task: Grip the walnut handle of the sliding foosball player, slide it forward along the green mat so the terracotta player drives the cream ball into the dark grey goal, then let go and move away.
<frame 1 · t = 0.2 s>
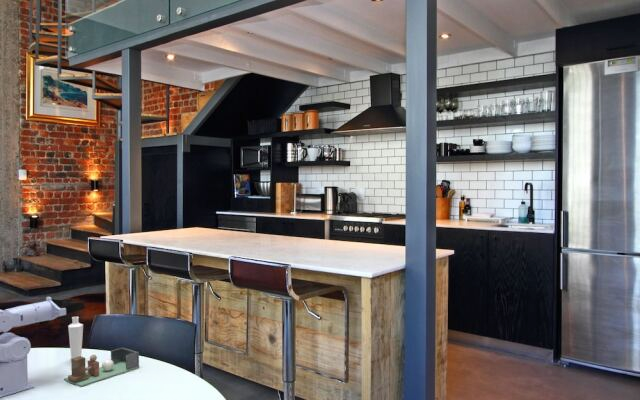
hand: (77, 304, 163), 21 cm above the table, tool horizontal, fingers open, 7 cm apart
pitch mat: (102, 374, 159), on the table
ball: (107, 365, 161), point 2 cm above the table, touching pitch mat
goal: (123, 367, 165), resting on pitch mat
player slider: (84, 366, 154), point 4 cm above the table, slide at 0.0 cm
perfume bottle: (76, 362, 171), on the table
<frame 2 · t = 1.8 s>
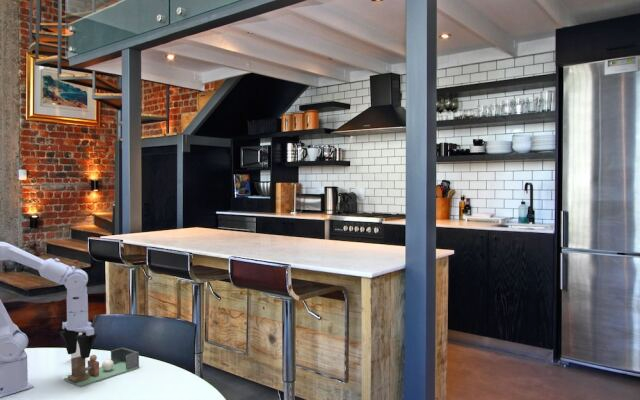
hand: (78, 355, 153), 8 cm above the table, tool pointing down, fingers open, 7 cm apart
nothing on the table moved.
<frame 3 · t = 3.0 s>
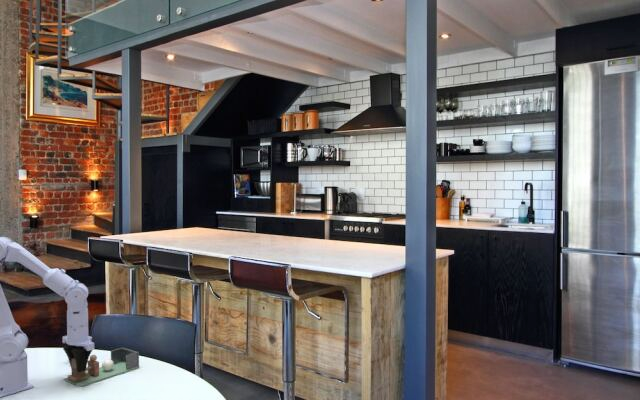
hand: (78, 370, 153), 3 cm above the table, tool pointing down, fingers closed on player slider, 3 cm apart
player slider: (84, 366, 154), point 4 cm above the table, slide at 0.0 cm, touching gripper
everything else where it was.
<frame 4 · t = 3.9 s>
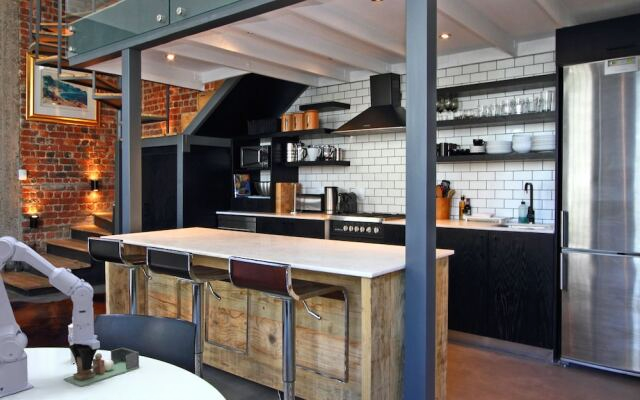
hand: (84, 368, 154), 3 cm above the table, tool pointing down, fingers closed on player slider, 3 cm apart
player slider: (89, 365, 156), point 4 cm above the table, slide at 1.7 cm, touching gripper
everything else where it was.
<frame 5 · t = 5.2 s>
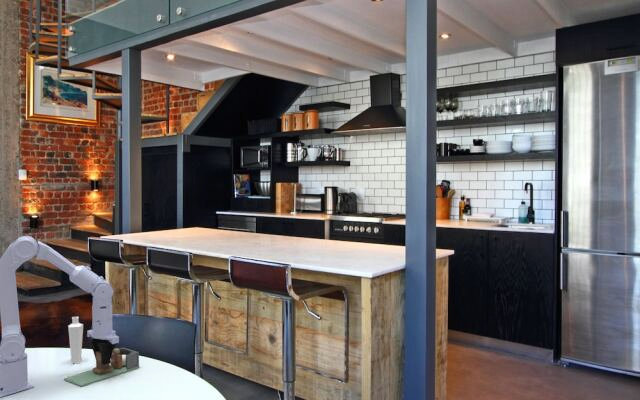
hand: (103, 362, 159), 3 cm above the table, tool pointing down, fingers closed on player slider, 3 cm apart
ball: (123, 360, 165), point 2 cm above the table, tilted 180°, touching pitch mat
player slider: (107, 359, 161), point 4 cm above the table, slide at 7.8 cm, touching gripper
everything else where it was.
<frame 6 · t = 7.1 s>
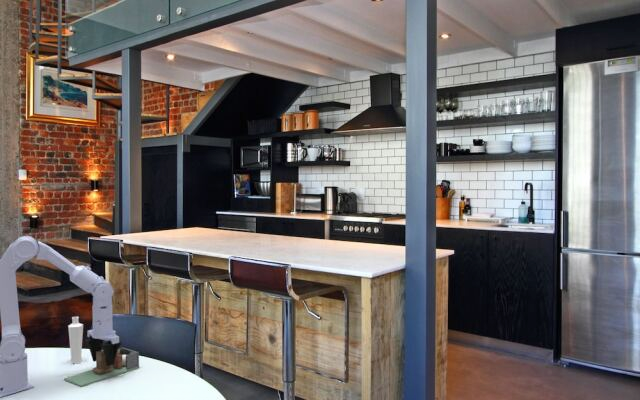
hand: (103, 362, 159), 3 cm above the table, tool pointing down, fingers open, 7 cm apart
ball: (124, 360, 165), point 2 cm above the table, tilted 174°, touching pitch mat
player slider: (108, 359, 161), point 4 cm above the table, slide at 7.9 cm
everything else where it was.
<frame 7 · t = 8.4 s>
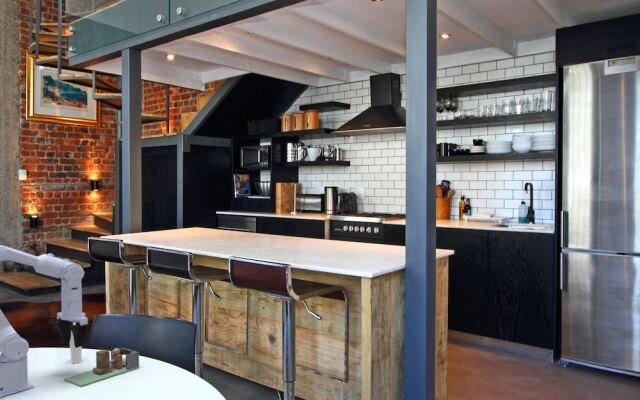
hand: (72, 344, 159), 9 cm above the table, tool pointing down, fingers open, 7 cm apart
nothing on the table moved.
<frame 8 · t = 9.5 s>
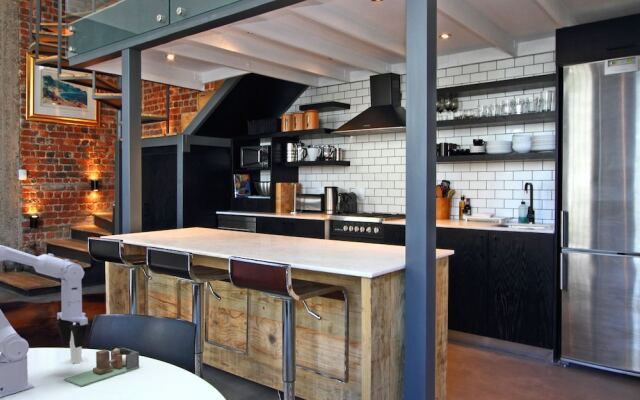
hand: (72, 344, 159), 9 cm above the table, tool pointing down, fingers open, 7 cm apart
nothing on the table moved.
at the end: ball 0.4 cm from the target spot, point 2.2 cm above the table; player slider slide at 7.9 cm; the gripper is holding nothing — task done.
